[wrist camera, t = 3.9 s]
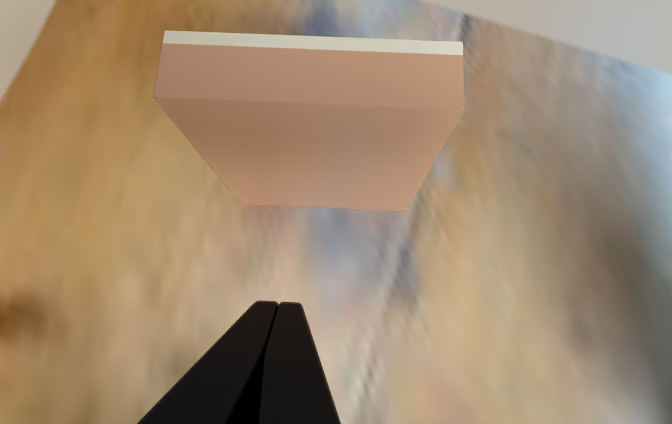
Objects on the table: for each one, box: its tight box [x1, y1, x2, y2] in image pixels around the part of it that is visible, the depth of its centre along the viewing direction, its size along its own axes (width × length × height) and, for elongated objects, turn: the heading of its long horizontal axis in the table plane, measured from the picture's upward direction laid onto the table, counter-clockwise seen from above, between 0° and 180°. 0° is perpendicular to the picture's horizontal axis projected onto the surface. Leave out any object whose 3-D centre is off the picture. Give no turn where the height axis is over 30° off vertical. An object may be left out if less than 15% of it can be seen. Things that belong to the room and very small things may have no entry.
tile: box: [153, 30, 465, 211], centre depth 16 cm, size 2×8×10 cm, turn 87°
